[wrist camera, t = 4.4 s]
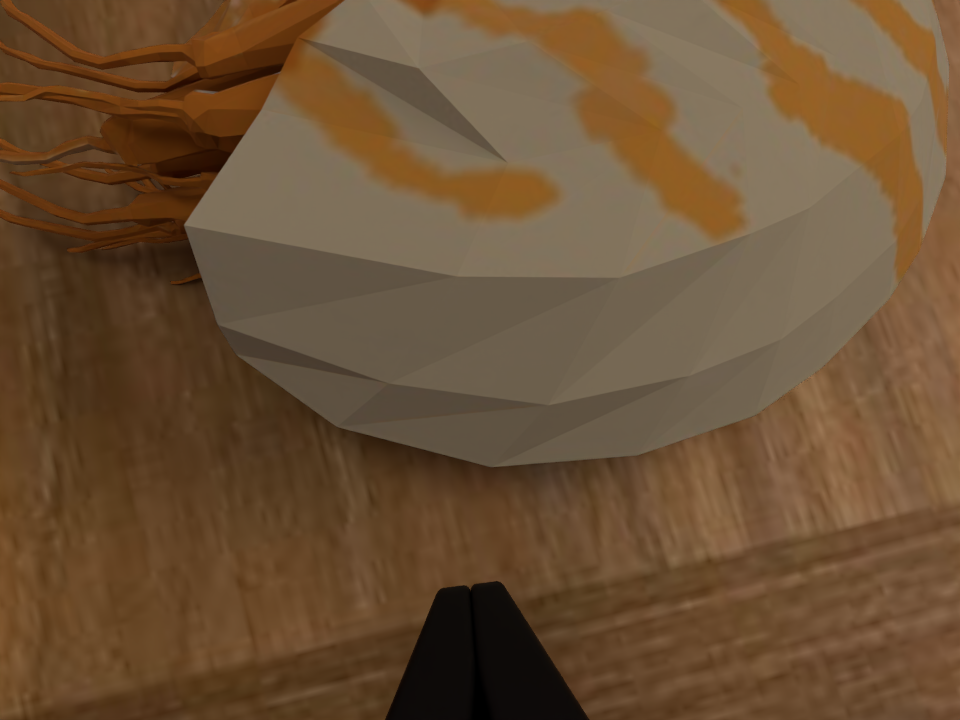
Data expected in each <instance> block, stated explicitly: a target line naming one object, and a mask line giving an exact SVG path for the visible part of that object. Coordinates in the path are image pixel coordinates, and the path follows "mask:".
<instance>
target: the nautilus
mask: <svg viewBox="0 0 960 720" xmlns="http://www.w3.org/2000/svg"><path fill="white" fill-rule="evenodd" d="M0 3H1V5H2V6H3V8H4V9H5V11H6V13H7V14H8V16H10V17H12V18H13V19H15V20H17V21H19V22H21V23H22V24H23V25H25V26H26V27H27V28H29V29H30V30H32V31H33V32H34V33H36V34H37V35H38V36H40V37H41V38H43V39H44V40H45V41H47V42H48V43H49V44H51V45H52V46H54V47H55V48H56V49H58V50H59V51H60V52H62V53H63V54H65V55H66V56H67V57H69V58H70V59H71V60H73V61H74V62H77V63H81V64H84V65H88V66H91V67H95V68H98V69H102V70H103V69H110V68H116V67H122V66H129V65H135V64H143V63H150V62H174V65H173V69H172V73H171V78H172V79H170V80H169V81H138V80H134V79H130V78H126V77H121V76H117V75H113V74H108V73H104V72H100V71H96V70H91V69H87V68H83V67H78V66H74V65H70V64H66V63H60V62H51V61H44V60H42V59H40V58H38V57H36V56H34V55H31V54H29V53H25V52H21V51H18V50H14V49H10V48H7V47H6V46H5V45H4V44H3V43H2V42H1V41H0V48H1V50H2V51H3V52H4V53H5V54H7V55H10V56H13V57H15V58H18V59H21V60H24V61H26V62H28V63H30V64H31V65H33V66H35V67H37V68H39V69H46V70H52V71H58V72H62V73H66V74H70V75H74V76H77V77H81V78H85V79H89V80H93V81H97V82H100V83H104V84H108V85H112V86H116V87H120V88H123V89H127V90H131V91H135V92H167V93H164V94H161V95H159V96H156V97H153V98H150V99H148V100H133V99H127V98H120V97H116V96H112V95H108V94H104V93H99V92H93V91H88V90H82V89H76V88H71V87H65V86H59V85H57V86H48V87H40V86H33V85H26V84H18V83H11V82H6V83H0V101H27V100H31V99H42V100H48V101H55V102H61V103H68V104H74V105H78V106H81V107H85V108H88V109H92V110H96V111H99V112H103V113H106V114H109V115H112V116H111V117H110V118H109V119H107V120H106V121H105V122H104V123H103V124H102V126H101V129H100V133H101V134H102V136H103V138H99V137H93V136H85V137H81V138H77V139H73V140H69V141H65V142H64V143H62V144H60V145H59V146H57V147H56V148H54V149H52V150H51V151H49V152H28V151H25V150H21V149H18V148H17V147H15V146H13V145H11V144H10V143H8V142H6V141H5V140H3V139H1V138H0V147H1V148H3V149H4V150H0V162H5V163H9V164H14V165H29V164H40V165H43V166H46V167H49V168H45V169H40V170H34V171H28V172H10V173H11V174H16V175H21V176H32V175H41V174H50V173H59V172H63V173H66V174H69V175H72V176H74V177H77V178H80V179H84V180H89V181H94V182H99V183H104V184H108V185H115V184H121V183H125V184H127V185H128V186H130V187H132V188H133V189H135V190H137V191H140V192H143V193H144V194H139V195H138V196H137V197H136V198H135V200H134V201H133V202H132V203H131V204H130V205H129V206H127V207H121V208H114V209H107V210H101V211H97V212H93V213H88V214H84V213H81V212H77V211H74V210H70V209H66V208H63V207H59V206H57V205H55V204H53V203H50V202H48V201H46V200H44V199H42V198H40V197H38V196H35V195H33V194H31V193H29V192H27V191H25V190H23V189H20V188H18V187H16V186H14V185H12V184H10V183H7V182H5V181H3V180H1V179H0V188H1V189H2V190H4V191H6V192H8V193H10V194H12V195H14V196H16V197H18V198H20V199H22V200H24V201H26V202H28V203H30V204H32V205H34V206H36V207H38V208H41V209H43V210H45V211H47V212H49V213H51V214H53V215H55V216H57V217H60V218H64V219H67V220H71V221H74V222H78V223H81V224H85V225H97V224H108V223H119V222H130V221H133V222H136V223H138V224H137V225H135V226H131V227H127V228H123V229H116V230H109V231H101V232H96V231H91V230H86V229H81V228H75V227H70V226H65V225H60V224H55V223H50V222H44V221H39V220H34V219H29V218H24V217H19V216H15V215H13V214H10V213H8V212H5V211H3V210H1V209H0V218H2V219H4V220H6V221H8V222H10V223H14V224H18V225H22V226H26V227H30V228H34V229H38V230H42V231H47V232H52V233H56V234H61V235H66V236H71V237H75V238H80V239H85V240H90V241H94V243H90V244H87V245H84V246H81V247H75V248H67V250H68V252H76V253H83V252H87V251H90V250H94V249H98V248H101V247H105V246H107V247H105V248H102V249H101V250H108V249H114V248H118V247H122V246H126V245H130V244H134V243H138V242H148V243H170V242H175V241H181V240H186V239H189V242H190V244H191V247H192V250H193V253H194V256H195V259H196V262H197V265H198V268H199V271H200V273H198V274H196V275H193V276H191V277H188V278H185V279H183V280H180V281H170V282H171V284H182V283H185V282H188V281H191V280H194V279H197V278H201V277H202V280H203V283H204V286H205V289H206V292H207V295H208V298H209V301H210V304H211V307H212V310H213V313H214V316H215V319H216V321H217V324H218V326H219V328H220V329H221V331H222V333H223V334H224V336H225V338H226V339H227V341H228V343H229V344H230V346H231V348H232V349H233V351H234V352H235V354H236V355H237V356H239V357H240V358H242V359H243V360H244V361H246V362H247V363H248V364H250V365H251V366H253V367H254V368H255V369H257V370H258V371H260V372H261V373H262V374H264V375H265V376H267V377H268V378H269V379H271V380H272V381H274V382H275V383H276V384H278V385H279V386H281V387H282V388H283V389H285V390H286V391H288V392H289V393H290V394H292V395H293V396H294V397H296V398H297V399H299V400H300V401H301V402H303V403H304V404H306V405H307V406H308V407H310V408H311V409H313V410H314V411H315V412H317V413H318V414H320V415H321V416H322V417H324V418H325V419H327V420H328V421H329V422H331V423H332V424H334V425H335V426H336V427H339V428H343V429H347V430H351V431H354V432H358V433H362V434H366V435H370V436H374V437H377V438H381V439H385V440H389V441H393V442H397V443H400V444H404V445H408V446H412V447H416V448H420V449H423V450H427V451H431V452H435V453H439V454H443V455H446V456H450V457H454V458H458V459H462V460H466V461H469V462H473V463H477V464H481V465H485V466H489V467H500V466H512V465H524V464H537V463H549V462H562V461H574V460H586V459H599V458H611V457H624V456H636V455H640V454H643V453H646V452H649V451H652V450H655V449H658V448H661V447H664V446H666V445H669V444H672V443H675V442H678V441H681V440H684V439H687V438H690V437H693V436H696V435H699V434H702V433H705V432H708V431H711V430H714V429H717V428H720V427H723V426H726V425H729V424H732V423H734V422H737V421H740V420H743V419H746V418H749V417H752V416H755V415H756V414H758V413H759V412H760V411H762V410H763V409H765V408H766V407H767V406H769V405H770V404H772V403H773V402H774V401H776V400H777V399H779V398H780V397H782V396H783V395H784V394H786V393H787V392H789V391H790V390H791V389H793V388H794V387H796V386H797V385H798V384H800V383H801V382H803V381H804V380H805V379H807V378H808V377H810V376H811V375H812V374H814V373H815V372H817V371H818V370H819V369H821V368H822V367H823V366H824V365H825V364H826V363H827V362H828V361H829V360H830V359H831V358H832V357H833V356H834V355H835V354H836V353H837V352H838V351H839V350H840V349H841V348H842V347H843V346H844V345H845V344H846V343H847V342H848V341H849V340H850V339H851V338H852V337H853V336H854V335H855V334H856V333H857V332H858V331H859V329H860V328H861V327H862V326H863V325H864V324H865V323H866V322H867V321H868V320H869V319H870V318H871V317H872V316H873V315H874V314H875V313H876V312H877V311H878V310H879V309H880V308H881V307H882V306H883V305H884V304H885V303H886V302H887V301H888V300H889V299H890V297H891V295H892V294H893V292H894V291H895V289H896V287H897V286H898V284H899V283H900V281H901V279H902V278H903V276H904V274H905V273H906V271H907V270H908V268H909V266H910V265H911V263H912V262H913V260H914V258H915V257H916V255H917V254H918V252H919V250H920V247H921V244H922V242H923V239H924V236H925V233H926V230H927V227H928V225H929V222H930V219H931V216H932V213H933V210H934V208H935V205H936V202H937V199H938V196H939V193H940V191H941V188H942V185H943V182H944V179H945V176H946V145H947V114H948V83H949V62H948V58H947V54H946V50H945V45H944V41H943V37H942V33H941V29H940V25H939V21H938V17H937V12H936V8H935V4H934V0H225V1H224V2H223V4H222V5H221V6H220V8H219V9H218V10H217V11H216V13H215V14H214V15H213V16H212V18H211V19H210V20H209V22H208V23H207V24H206V25H205V26H204V27H203V28H201V29H200V30H199V31H198V32H197V33H196V34H195V35H194V36H193V37H192V38H191V39H190V40H189V41H188V42H187V43H186V44H164V45H156V46H151V47H145V48H140V49H134V50H129V51H124V52H121V53H117V54H114V55H110V56H107V57H102V56H98V55H95V54H92V53H89V52H85V51H82V50H80V49H78V48H77V47H75V46H74V45H72V44H71V43H69V42H68V41H66V40H65V39H63V38H62V37H60V36H59V35H57V34H56V33H55V32H53V31H52V30H50V29H49V28H47V27H46V26H44V25H43V24H41V23H40V22H38V21H37V20H35V19H34V18H32V17H31V16H29V15H27V14H25V13H23V12H20V11H18V9H17V8H16V7H15V6H14V4H13V3H12V2H11V0H0ZM176 88H178V89H176ZM174 89H175V90H174ZM91 149H96V150H99V151H103V152H106V153H111V154H118V155H120V156H121V158H122V159H123V161H124V162H125V164H118V163H104V162H78V163H73V164H66V163H63V162H59V161H56V160H58V159H60V158H62V157H64V156H66V155H70V154H74V153H79V152H83V151H87V150H91ZM5 150H6V151H5ZM137 164H142V165H141V166H137ZM80 167H86V168H99V169H105V171H106V172H107V173H109V174H106V173H101V172H96V171H91V170H86V169H82V168H80ZM110 169H113V170H121V171H118V172H113V171H111V170H110ZM196 174H201V176H199V177H190V178H185V177H189V176H192V175H196ZM151 178H153V179H155V180H156V181H158V182H159V183H160V184H161V186H162V187H163V188H164V189H165V190H158V189H156V187H155V186H154V185H153V183H152V182H151V181H150V179H151ZM140 180H142V182H143V183H144V185H145V186H146V187H145V186H143V185H141V184H139V183H136V182H134V181H140ZM169 185H172V186H181V187H176V188H171V187H170V186H169ZM171 221H174V223H173V222H171ZM165 237H167V238H165ZM152 238H163V239H152ZM116 243H117V244H116ZM112 244H113V245H112ZM109 245H110V246H109Z"/></svg>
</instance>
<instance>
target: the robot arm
mask: <svg viewBox="0 0 960 720" xmlns="http://www.w3.org/2000/svg"><path fill="white" fill-rule="evenodd" d="M385 720H589V719H588V717H587V715H586V714H585V712H584V711H583V709H582V708H581V706H580V704H579V703H578V701H577V700H576V698H575V697H574V695H573V693H572V692H571V690H570V689H569V687H568V685H567V684H566V682H565V681H564V679H563V678H562V676H561V674H560V673H559V671H558V670H557V668H556V667H555V665H554V663H553V662H552V660H551V659H550V657H549V656H548V654H547V652H546V651H545V649H544V648H543V646H542V645H541V643H540V641H539V640H538V638H537V637H536V635H535V634H534V632H533V630H532V629H531V627H530V626H529V624H528V623H527V621H526V619H525V618H524V616H523V615H522V613H521V611H520V610H519V608H518V607H517V605H516V604H515V602H514V600H513V599H512V597H511V596H510V594H509V593H508V591H507V589H506V588H505V586H504V585H503V584H502V583H501V582H498V581H495V582H487V583H479V584H474V585H473V586H472V587H471V591H470V589H469V587H467V586H465V585H463V586H455V587H447V588H442V589H440V590H439V591H438V592H437V594H436V596H435V599H434V601H433V603H432V606H431V608H430V611H429V613H428V616H427V618H426V621H425V623H424V626H423V628H422V630H421V633H420V635H419V638H418V640H417V643H416V645H415V648H414V650H413V653H412V655H411V657H410V660H409V662H408V665H407V667H406V670H405V672H404V675H403V677H402V680H401V682H400V684H399V687H398V689H397V692H396V694H395V697H394V699H393V702H392V704H391V707H390V709H389V712H388V714H387V716H386V719H385Z"/></svg>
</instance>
